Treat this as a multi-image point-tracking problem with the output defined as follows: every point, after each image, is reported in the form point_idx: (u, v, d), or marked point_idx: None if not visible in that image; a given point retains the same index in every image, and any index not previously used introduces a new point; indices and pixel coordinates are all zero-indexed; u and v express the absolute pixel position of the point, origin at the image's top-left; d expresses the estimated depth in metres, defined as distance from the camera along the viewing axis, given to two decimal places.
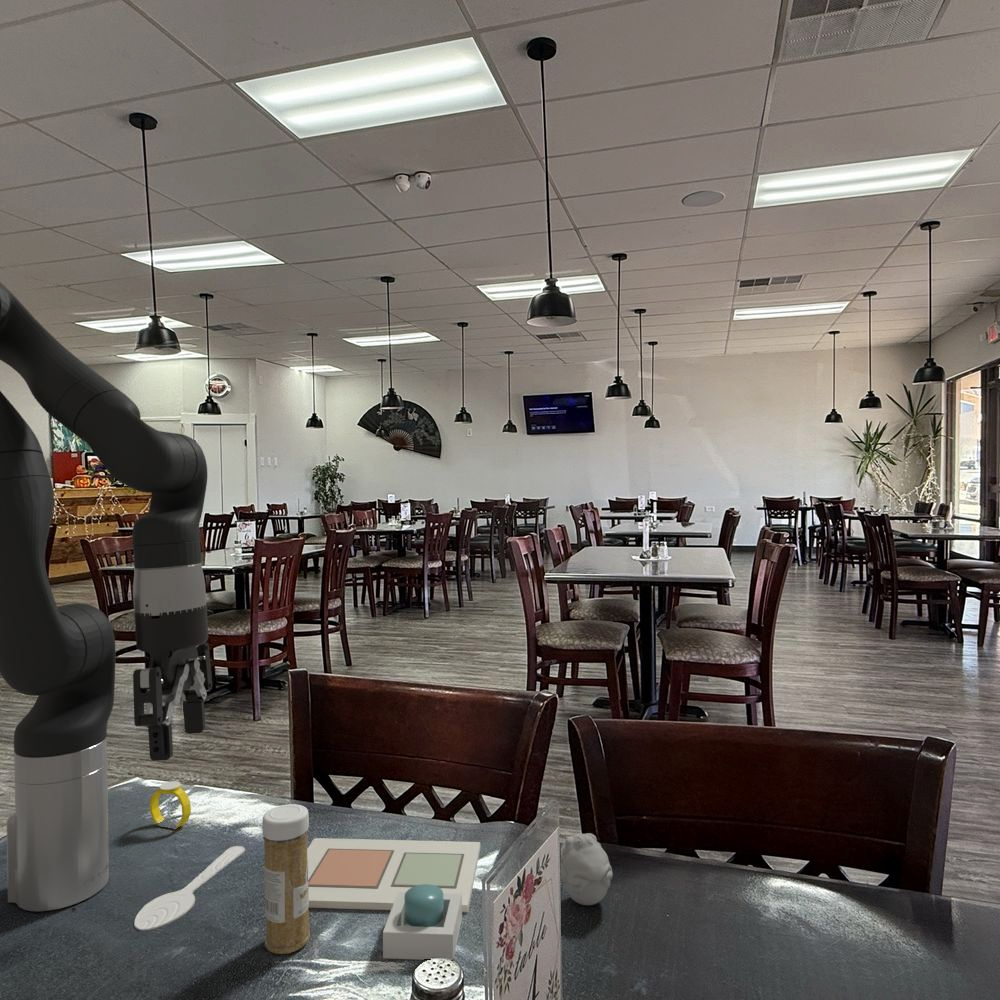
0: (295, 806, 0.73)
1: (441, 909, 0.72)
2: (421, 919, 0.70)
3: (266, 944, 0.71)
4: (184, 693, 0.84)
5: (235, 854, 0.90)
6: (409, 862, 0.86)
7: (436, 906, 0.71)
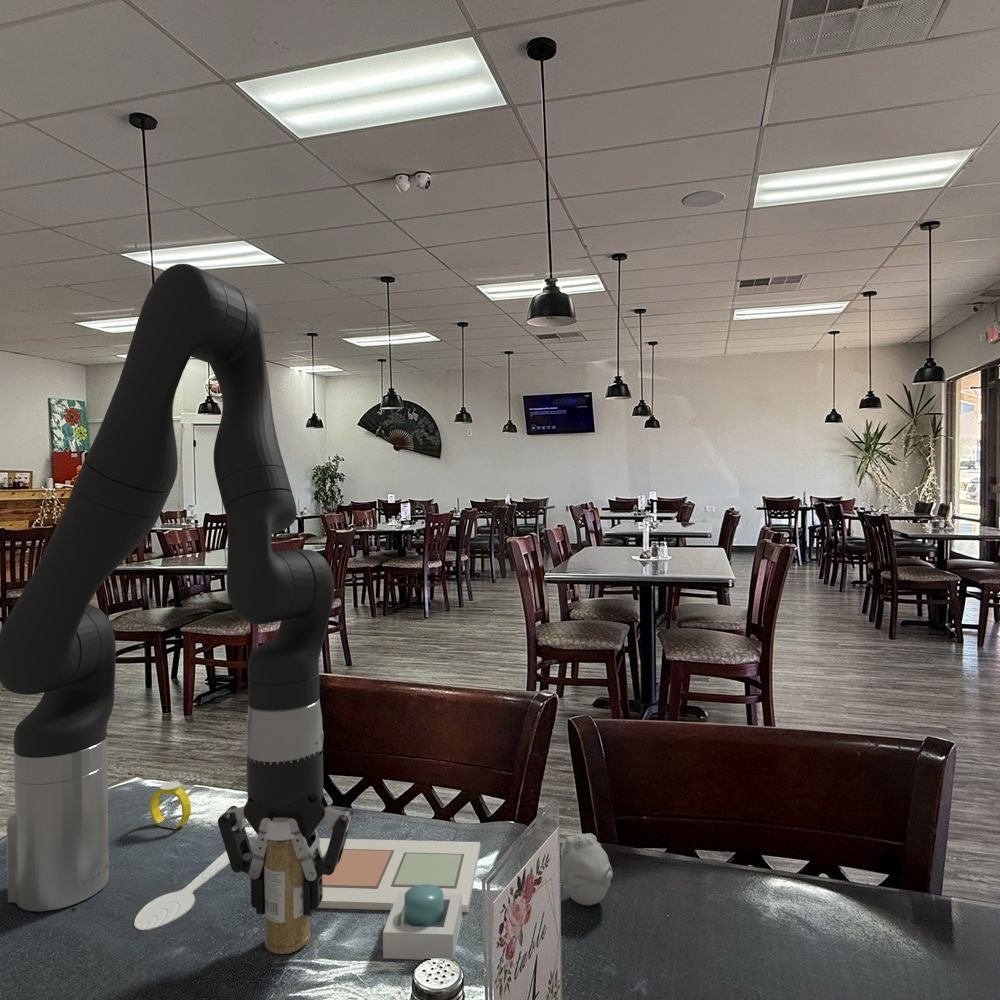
0: None
1: (441, 909, 0.72)
2: (421, 919, 0.70)
3: (266, 944, 0.71)
4: None
5: None
6: (409, 862, 0.86)
7: (436, 906, 0.71)
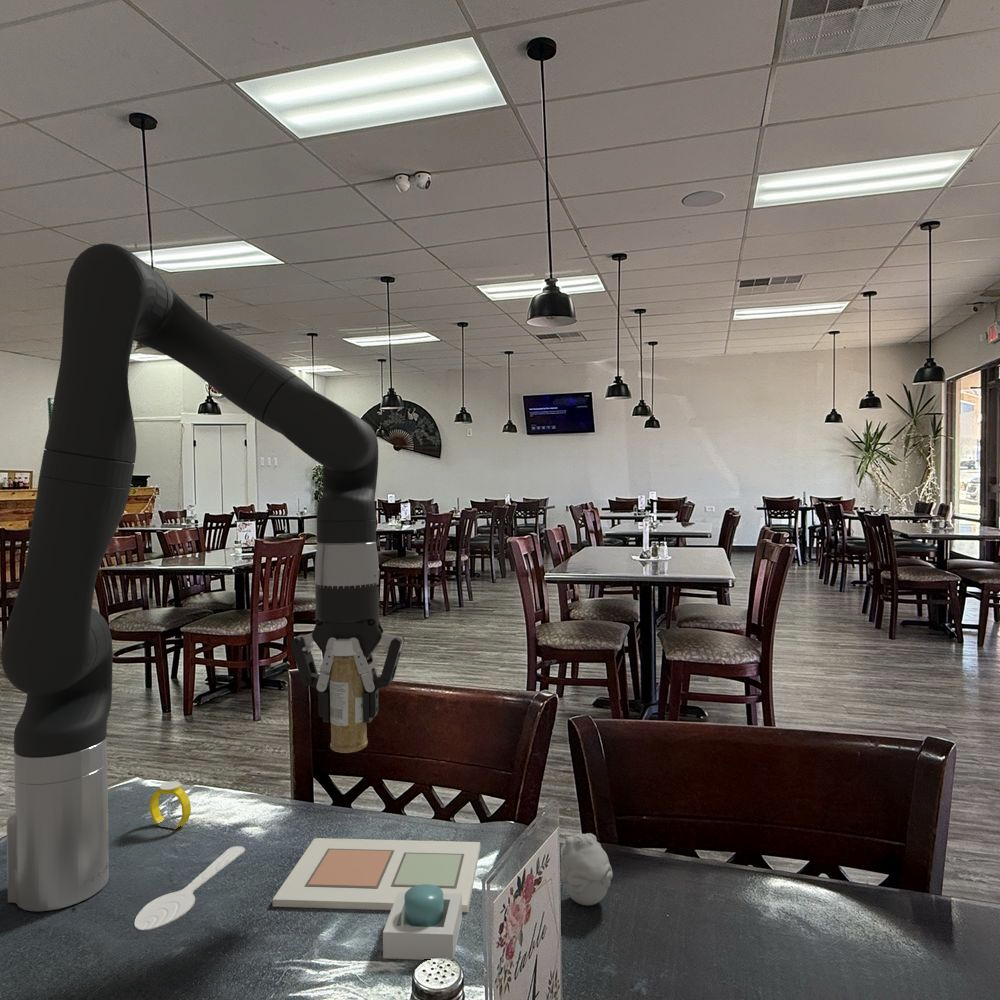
0: None
1: (441, 909, 0.72)
2: (421, 919, 0.70)
3: (331, 746, 0.83)
4: (328, 678, 0.84)
5: (235, 854, 0.90)
6: (409, 862, 0.86)
7: (436, 906, 0.71)
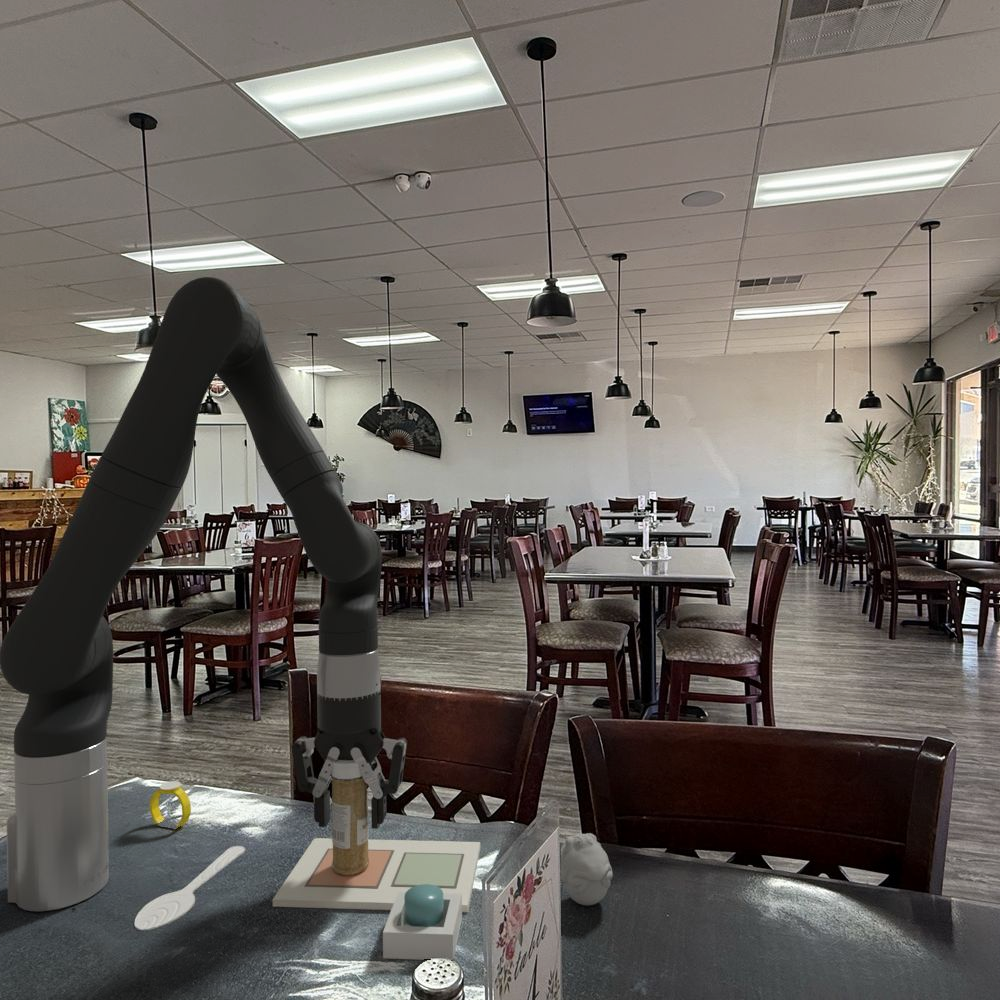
0: None
1: (441, 909, 0.72)
2: (421, 919, 0.70)
3: (333, 867, 0.83)
4: None
5: (235, 854, 0.90)
6: (409, 862, 0.86)
7: (436, 906, 0.71)
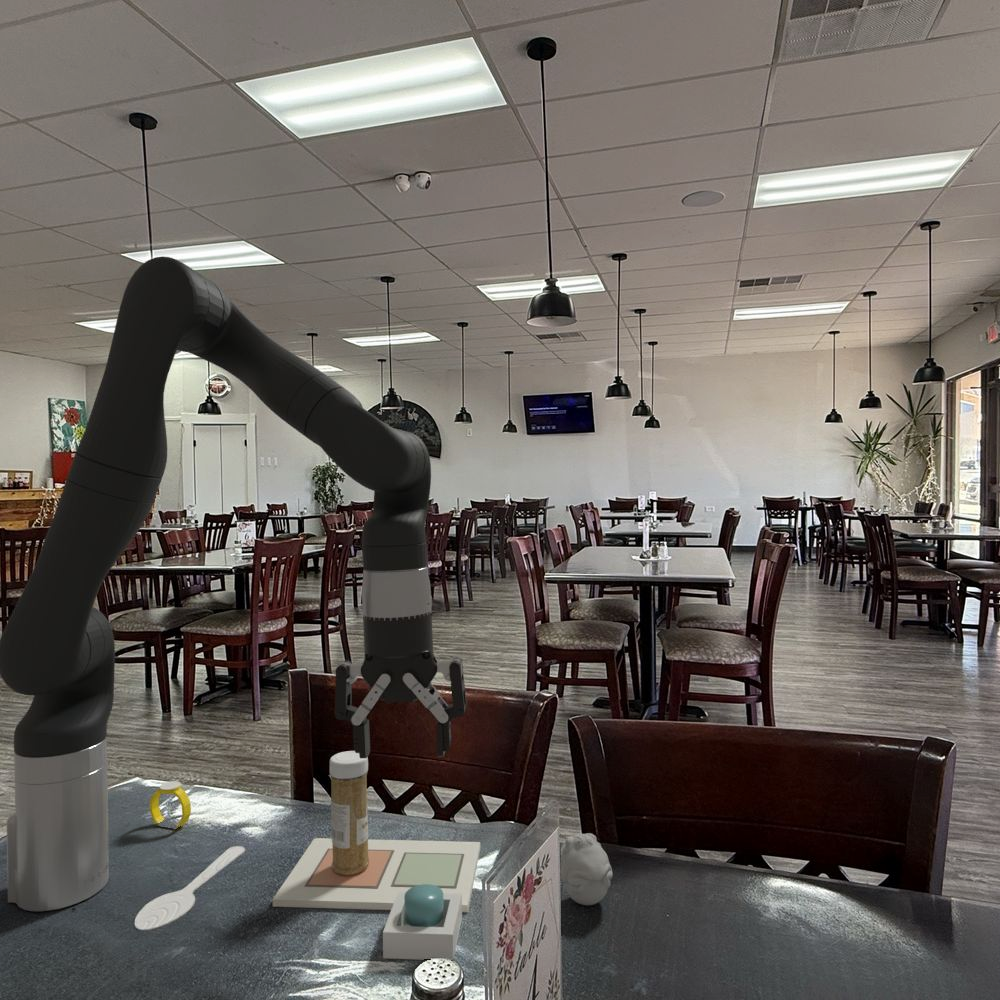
0: None
1: (441, 909, 0.72)
2: (421, 919, 0.70)
3: (333, 867, 0.83)
4: (366, 713, 0.77)
5: (235, 854, 0.90)
6: (409, 862, 0.86)
7: (436, 906, 0.71)
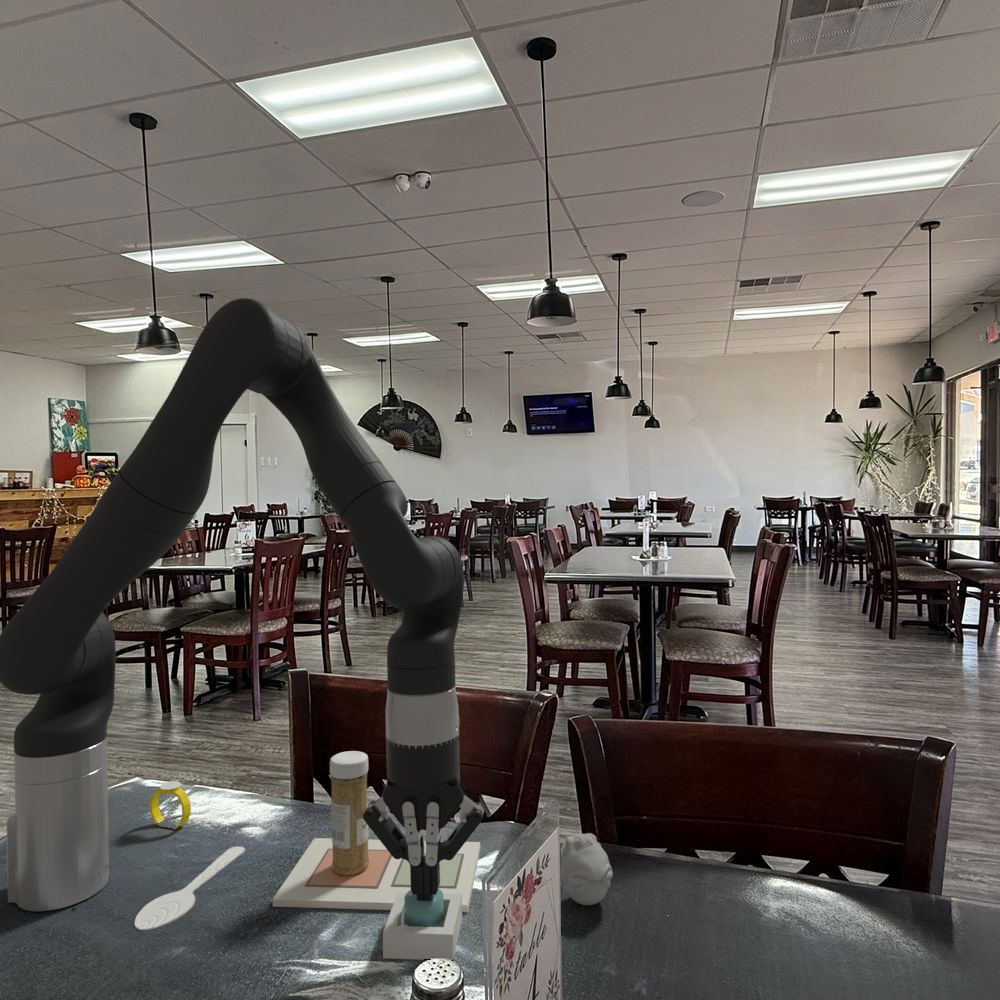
0: (356, 752, 0.86)
1: (441, 911, 0.72)
2: (421, 921, 0.70)
3: (333, 867, 0.83)
4: None
5: (235, 854, 0.90)
6: None
7: (436, 908, 0.71)
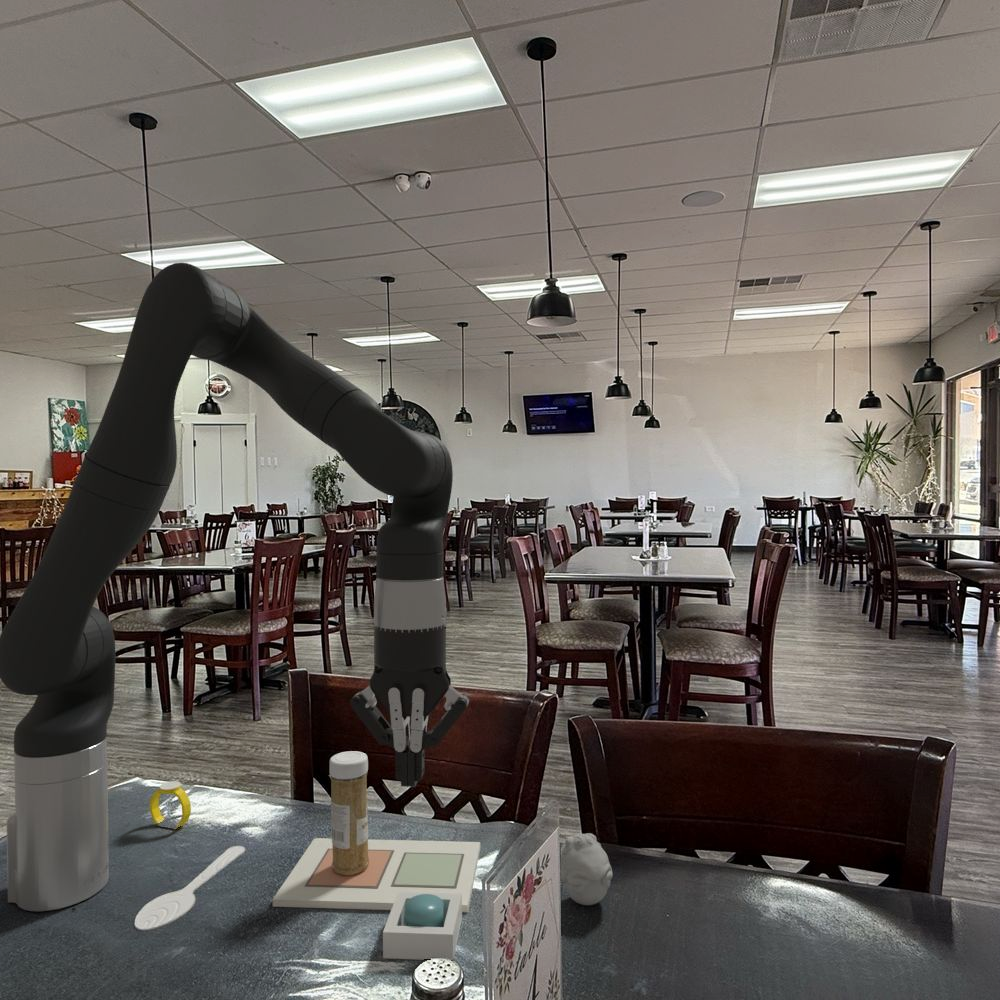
0: (356, 752, 0.86)
1: (441, 919, 0.72)
2: None
3: (333, 867, 0.83)
4: (404, 734, 0.73)
5: (235, 854, 0.90)
6: (409, 862, 0.86)
7: (436, 916, 0.71)
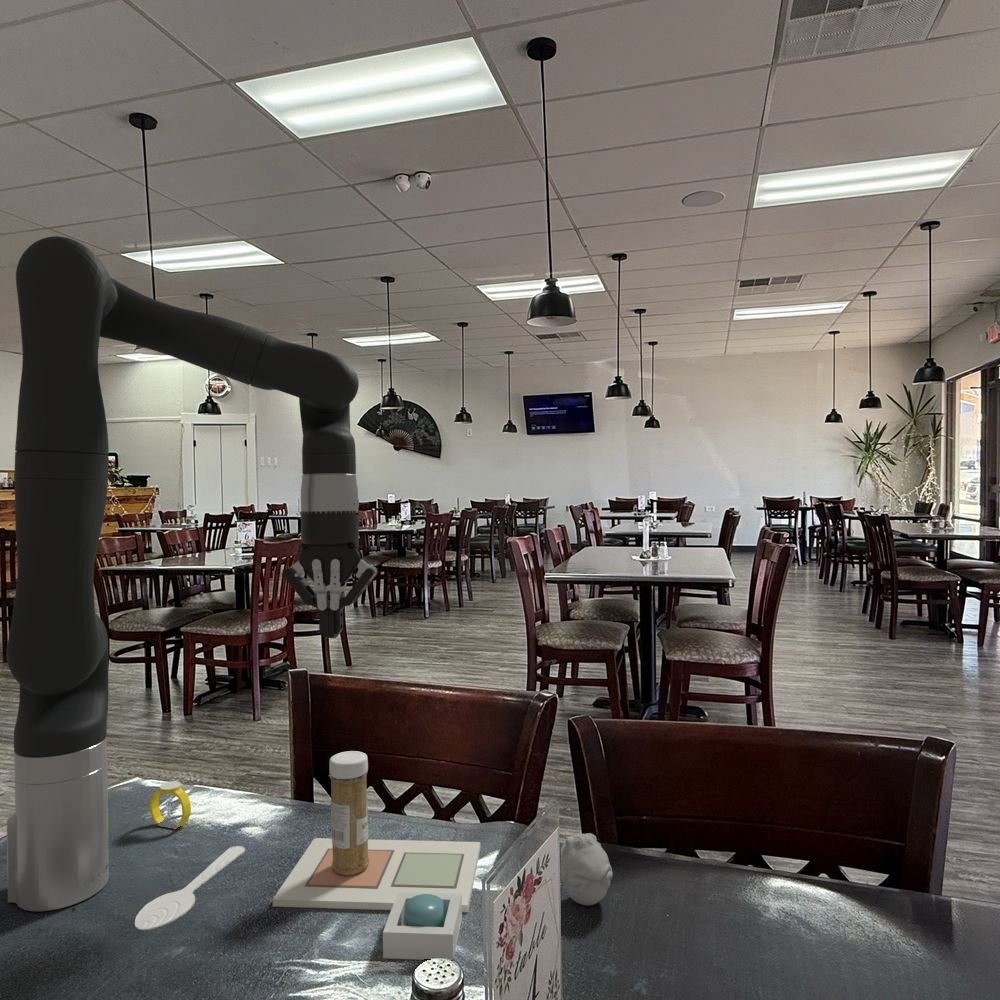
0: (356, 752, 0.86)
1: (441, 919, 0.72)
2: None
3: (333, 867, 0.83)
4: (325, 597, 0.93)
5: (235, 854, 0.90)
6: (409, 862, 0.86)
7: (436, 916, 0.71)
